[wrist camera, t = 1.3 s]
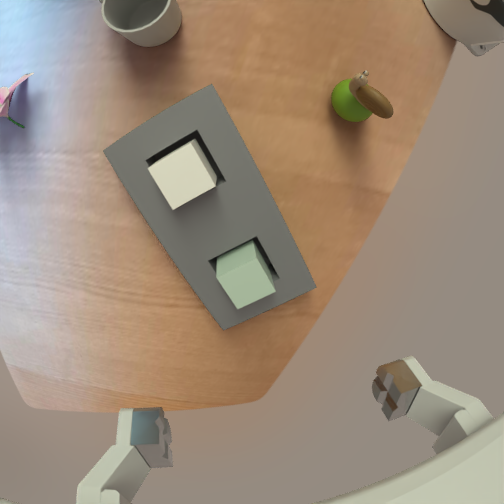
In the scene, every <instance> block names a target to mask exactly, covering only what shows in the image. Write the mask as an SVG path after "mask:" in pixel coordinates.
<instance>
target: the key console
mask: <svg viewBox="0 0 504 504" xmlns="http://www.w3.org/2000/svg"><path fill="white" fill-rule="evenodd" d="M194 139H196V140H197V142H198V144H199V146H200V147H201V149H202V151H203V153H204V154H205V156H206V158H207V160H208V161H209V163H210V165H211V167H212V168H213V170H214V172H215V174H216V176H217V179H216V186H215V187H213V188H212V189H210V190H208V191H206V192H204V193H202V194H201V195H199V196H197V197H195V198H193V199H191V200H190V201H188V202H186V203H184V204H183V205H181V206H179V207H177V208H176V209H174V210H173V209H172V208H171V206H170V205H169V203H168V201H167V200H166V198H165V196H164V195H163V193H162V192H161V190H160V188H159V187H158V185H157V183H156V182H155V180H154V178H153V177H152V175H151V174H150V172H149V170H148V168H149V167H150V166H151V165H153V164H154V163H155V162H156V161H158V160H159V159H161V158H163V157H164V156H166V155H168V154H169V153H171V152H173V151H174V150H176V149H178V148H180V147H181V146H183V145H185V144H186V143H188V142H190V141H192V140H194ZM103 152H104V154H105V155H106V157H107V159H108V160H109V162H110V164H111V165H112V167H113V169H114V170H115V172H116V174H117V175H118V177H119V178H120V180H121V182H122V183H123V185H124V187H125V188H126V190H127V191H128V193H129V195H130V196H131V198H132V199H133V201H134V203H135V204H136V206H137V207H138V209H139V210H140V212H141V213H142V215H143V217H144V218H145V220H146V221H147V223H148V224H149V226H150V227H151V229H152V230H153V232H154V233H155V235H156V236H157V238H158V239H159V241H160V242H161V244H162V245H163V247H164V248H165V250H166V251H167V253H168V254H169V256H170V257H171V259H172V260H173V261H174V263H175V264H176V266H177V267H178V269H179V270H180V272H181V273H182V274H183V276H184V277H185V279H186V280H187V281H188V283H189V284H190V286H191V287H192V289H193V290H194V291H195V293H196V294H197V295H198V297H199V298H200V300H201V301H202V302H203V304H204V305H205V306H206V308H207V309H208V311H209V312H210V313H211V315H212V316H213V317H214V319H215V320H216V321H217V323H218V324H219V325H220V327H221V328H222V329H223V330H226V329H228V328H230V327H232V326H235V325H237V324H239V323H241V322H244V321H246V320H248V319H250V318H253V317H255V316H257V315H259V314H261V313H264V312H266V311H268V310H270V309H272V308H274V307H277V306H279V305H281V304H283V303H285V302H287V301H289V300H291V299H294V298H296V297H298V296H300V295H302V294H304V293H306V292H308V291H310V290H312V289H314V288H316V285H315V283H314V281H313V278H312V276H311V274H310V272H309V270H308V268H307V266H306V264H305V262H304V260H303V258H302V255H301V253H300V251H299V249H298V247H297V245H296V243H295V241H294V239H293V237H292V235H291V233H290V231H289V229H288V227H287V225H286V223H285V221H284V219H283V217H282V215H281V213H280V211H279V209H278V207H277V205H276V203H275V201H274V199H273V197H272V195H271V193H270V191H269V189H268V187H267V185H266V183H265V181H264V179H263V177H262V175H261V174H260V172H259V170H258V168H257V166H256V164H255V162H254V160H253V158H252V156H251V154H250V153H249V151H248V149H247V147H246V145H245V143H244V141H243V139H242V138H241V136H240V134H239V132H238V130H237V128H236V126H235V125H234V123H233V121H232V119H231V117H230V115H229V114H228V112H227V110H226V108H225V106H224V105H223V103H222V101H221V99H220V97H219V96H218V94H217V92H216V90H215V88H214V87H213V85H212V84H211V85H209V86H207V87H205V88H203V89H201V90H199V91H197V92H195V93H194V94H192V95H190V96H188V97H186V98H185V99H183V100H181V101H179V102H178V103H176V104H174V105H172V106H171V107H169V108H167V109H166V110H164V111H162V112H161V113H159V114H157V115H156V116H154V117H153V118H151V119H149V120H148V121H146V122H145V123H143V124H141V125H140V126H138V127H137V128H135V129H134V130H132V131H131V132H129V133H128V134H126V135H125V136H123V137H122V138H120V139H119V140H117V141H116V142H115V143H113V144H112V145H110V146H109V147H107V148H106V149H105V150H103ZM251 240H253V241H254V243H255V245H256V247H257V248H258V250H259V252H260V254H261V256H262V257H263V259H264V261H265V263H266V264H267V266H268V268H269V270H270V272H271V276H272V280H273V283H274V287H275V290H276V292H274V293H272V294H270V295H268V296H265V297H263V298H261V299H259V300H257V301H255V302H253V303H250V304H248V305H246V306H244V307H242V308H240V309H237V308H236V306H235V305H234V303H233V302H232V300H231V299H230V297H229V296H228V294H227V293H226V291H225V290H224V288H223V287H222V285H221V284H220V282H219V281H218V279H217V278H216V274H217V257H219V256H221V255H223V254H225V253H227V252H229V251H231V250H233V249H235V248H237V247H239V246H241V245H243V244H245V243H247V242H249V241H251Z"/></svg>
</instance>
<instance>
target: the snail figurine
mask: <svg viewBox="0 0 504 504" xmlns="http://www.w3.org/2000/svg"><path fill="white" fill-rule="evenodd" d="M368 75H369V72H368V71H364V72H363V73H362V74H361V73H358V74H356V75H355V76H354V78H352V79H346V80H343V81H341V82H340V83H338V84H337V85H336V87H335V88H334V90H333V92H332V97H331V101H332V105H333V108H334V110H335V111H336V113H337V114H338V115H339V116H340V117H342V118H343V119H345V120H347V121H351V122H360V121H363V120H365V119H367V118H369V117H370V116H371V115H372V113H374V114H375V115H377V116H379V117H381V118H386V119H387V118H390V117H391V116H392V115H393V108H392V105H391V104H390V102H389V101H388V100H387V98H386V97H385V96H384V95H382V94H381V93H380V92H379V91H377V90H376V89H374V88H373V87H371V86H369V85H367V82H368V80H367V77H366V76H368Z"/></svg>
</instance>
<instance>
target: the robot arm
mask: <svg viewBox="0 0 504 504" xmlns="http://www.w3.org/2000/svg"><path fill="white" fill-rule="evenodd" d="M424 2H425V4H426V7H427V8H428V10H429V12H430V14H431V15H432V17H433V18H434V20H435V21H436V22H437V23H438V25H439V26H440V27H441V28H442V29H443V30H444V31H445V32H446V33H447V34H449V35H450V36H451V37H453V38H454V39H456V40H458V41H460V42H461V43H463V44H464V45H465V46H466V47H467V48H468V49H469V50H470V51H471V53H472V54H474V55H475V56H481V55H483V54H484V53H486V52H487V51H489V50H490V49H492V48H493V47H495V46H496V45H497V44H499V43H503V42H504V0H424ZM376 373H377V375H378V376H377V377H376V378H375V379H374V381H373V384H372V391H373V395H374V397H375V399H376V401H377V402H380V403H381V404H382V411H383V413H384V414H385V416H386V418H387V419H388V421H390V420H393V419H396V418H399V417H401V416H404V415H406V416H407V417H409V418H410V419H412V420H413V421H415V422H417V423H418V424H420V425H421V426H423V427H425V428H426V429H428V430H430V431H431V432H433V433H434V434H436V435H438V436H439V437H438V439H437V440H436V442H435V443H434V444H433V449H434V451H435V452H436V455H435V456H433V457H431V458H429V459H427V460H425V461H423V462H421V463H419V464H417V465H415V466H413V467H411V468H408V469H406V470H404V471H402V472H400V473H398V474H395V475H393V476H391V477H388V478H386V479H383V480H381V481H378V482H376V483H373V484H371V485H368V486H365V487H363V488H360V489H357V490H354V491H351V492H349V493H346V494H343V495H339V496H336V497H333V498H330V499H327V500H323V501H319V502H316V503H312V504H504V412H503V413H502V414H500V415H499V416H498V417H496V418H495V419H494V418H493V417H492V415H491V414H490V413H489V412H488V410H487V409H486V408H485V406H484V405H483V404H482V402H481V401H480V400H479V399H478V398H475V397H472V396H470V395H468V394H466V393H463V392H461V391H459V390H456V389H454V388H451V387H449V386H447V385H444V384H442V383H440V382H438V381H432V380H431V378H430V377H429V376H428V375H427V373H426V372H425V371H424V370H423V368H422V367H421V366H420V364H419V363H418V362H417V361H416V359H415V358H414V357H412V356H409V357H406V358H403V359H399V360H396V361H393V362H390V363H387V364H384V365H381V366H379V367H378V369H377V371H376ZM171 442H172V440H171V430H170V426H169V423H168V420H167V419H166V418H164V411H163V409H162V407H154V408H121V410H120V412H119V418H118V428H117V437H116V445H113V446H111V447H110V448H109V450H108V451H107V452H106V453H105V454H104V455H103V457H102V458H101V459H100V460H99V461H98V463H97V464H96V465H95V466H94V467H93V468H92V470H91V471H90V472H89V473H88V474H87V475H86V477H85V478H84V479H83V480H82V481H81V482H80V484H79V485H78V488H77V498H76V504H131V501H132V499H133V498H134V496H135V494H136V493H137V491H138V490H139V488H140V486H141V485H142V483H143V481H144V480H145V478H146V477H147V475H148V473H149V471H150V470H151V469H150V468H162V467H173V464H172V451H171V449H170V447H169V445H170V443H171ZM0 504H19V503H16V502H13V501H10V500H7V499H4V498H0Z"/></svg>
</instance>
